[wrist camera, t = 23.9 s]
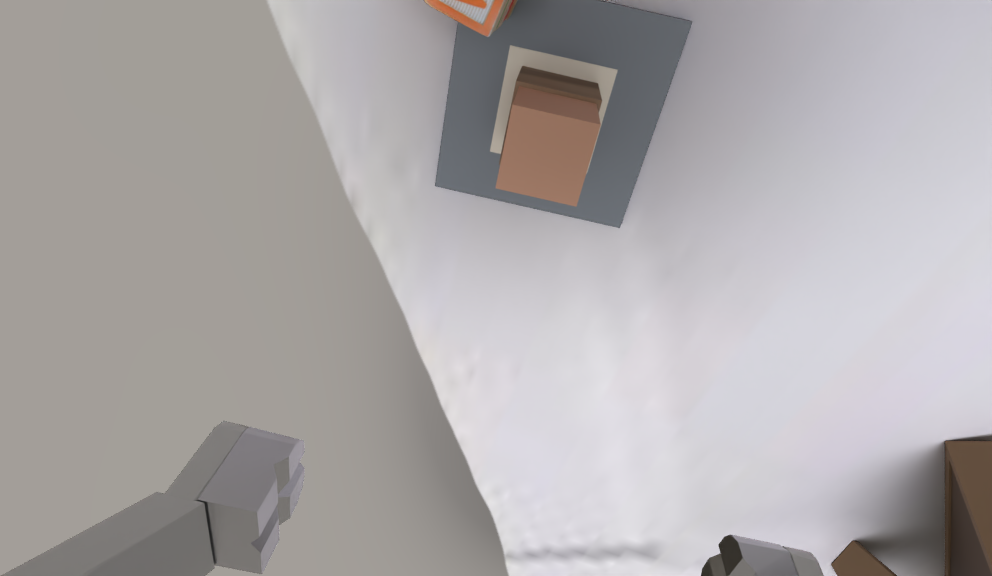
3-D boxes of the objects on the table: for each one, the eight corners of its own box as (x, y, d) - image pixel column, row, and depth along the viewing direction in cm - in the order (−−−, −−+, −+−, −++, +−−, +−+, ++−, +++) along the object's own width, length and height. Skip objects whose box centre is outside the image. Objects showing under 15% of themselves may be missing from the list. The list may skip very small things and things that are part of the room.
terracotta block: (519, 86, 31) (512, 104, 27) (596, 103, 31) (600, 124, 27) (503, 161, 33) (495, 188, 29) (575, 177, 33) (576, 206, 29)
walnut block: (522, 65, 35) (516, 80, 30) (598, 83, 35) (602, 100, 30) (506, 140, 37) (498, 164, 33) (576, 157, 37) (577, 182, 33)
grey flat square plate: (466, -31, 33) (464, -31, 32) (690, 21, 33) (692, 22, 32) (436, 183, 40) (434, 186, 40) (619, 224, 40) (619, 228, 40)
